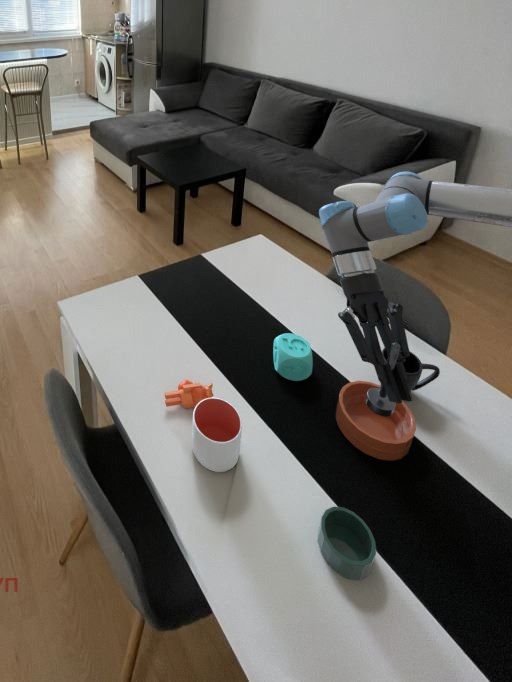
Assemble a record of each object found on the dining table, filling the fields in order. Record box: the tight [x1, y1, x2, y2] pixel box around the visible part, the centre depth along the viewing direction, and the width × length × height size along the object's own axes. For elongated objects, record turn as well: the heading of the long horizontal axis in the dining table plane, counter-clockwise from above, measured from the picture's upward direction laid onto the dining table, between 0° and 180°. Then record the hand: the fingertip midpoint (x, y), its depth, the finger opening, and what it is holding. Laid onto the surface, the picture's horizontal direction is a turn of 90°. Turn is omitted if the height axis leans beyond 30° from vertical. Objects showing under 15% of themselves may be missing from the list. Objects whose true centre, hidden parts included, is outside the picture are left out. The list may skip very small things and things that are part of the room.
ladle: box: [366, 342, 400, 417], centre depth 84 cm, size 5×5×17 cm
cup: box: [191, 397, 243, 473], centre depth 91 cm, size 10×10×10 cm
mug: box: [381, 347, 441, 393], centre depth 102 cm, size 8×12×10 cm
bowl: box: [335, 380, 417, 462], centre depth 94 cm, size 14×14×6 cm
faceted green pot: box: [317, 506, 377, 581], centre depth 75 cm, size 8×8×5 cm
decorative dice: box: [272, 332, 314, 382], centre depth 109 cm, size 8×8×8 cm
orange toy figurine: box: [164, 379, 214, 409], centre depth 103 cm, size 5×8×12 cm
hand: (400, 400), depth 81 cm, fingers closed on ladle
